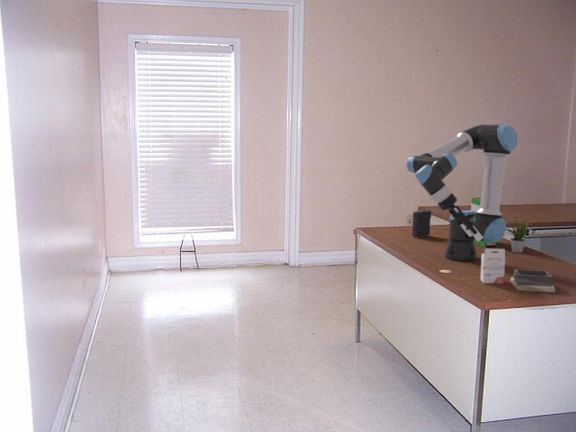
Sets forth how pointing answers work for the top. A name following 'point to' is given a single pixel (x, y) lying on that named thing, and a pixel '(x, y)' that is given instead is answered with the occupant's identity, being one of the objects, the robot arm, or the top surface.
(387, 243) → the top surface
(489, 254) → the ink cartridge box
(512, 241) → the house plant
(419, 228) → the dark navy upright block
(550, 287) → the sleeve stand
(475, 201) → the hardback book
